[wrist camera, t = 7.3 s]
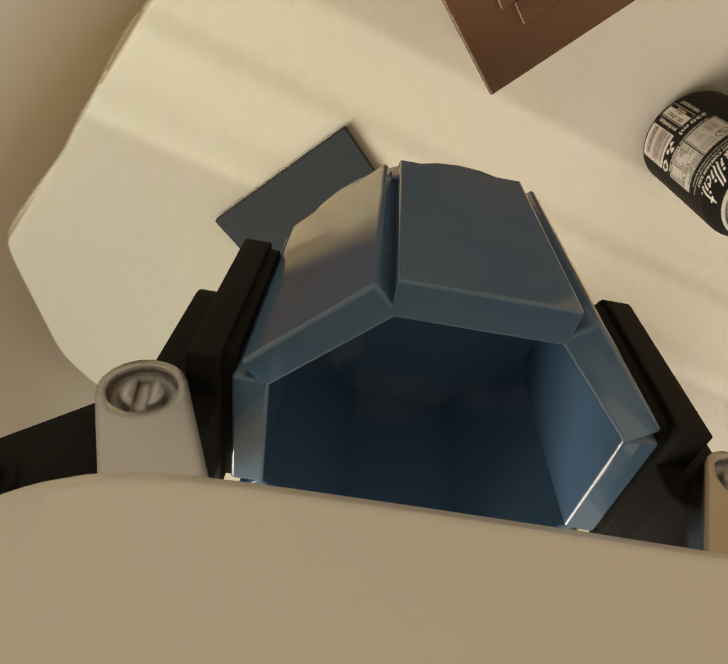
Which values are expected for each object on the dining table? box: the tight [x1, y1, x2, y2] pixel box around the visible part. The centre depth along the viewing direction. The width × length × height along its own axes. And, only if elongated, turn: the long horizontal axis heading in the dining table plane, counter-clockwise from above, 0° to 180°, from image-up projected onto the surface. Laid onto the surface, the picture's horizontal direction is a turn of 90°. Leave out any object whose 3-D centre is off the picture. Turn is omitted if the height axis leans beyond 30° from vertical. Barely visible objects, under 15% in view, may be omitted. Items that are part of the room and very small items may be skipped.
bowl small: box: [231, 160, 660, 531], centre depth 11 cm, size 7×7×5 cm
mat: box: [216, 126, 375, 253], centre depth 46 cm, size 14×14×1 cm
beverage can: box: [644, 91, 728, 236], centre depth 34 cm, size 7×7×12 cm
